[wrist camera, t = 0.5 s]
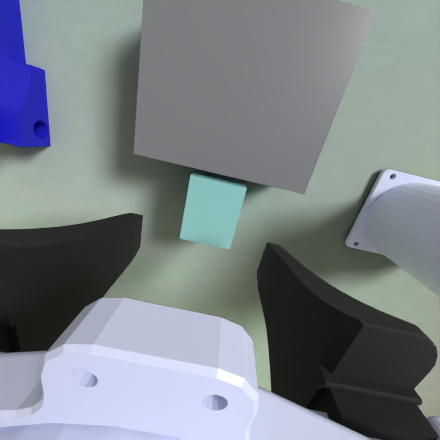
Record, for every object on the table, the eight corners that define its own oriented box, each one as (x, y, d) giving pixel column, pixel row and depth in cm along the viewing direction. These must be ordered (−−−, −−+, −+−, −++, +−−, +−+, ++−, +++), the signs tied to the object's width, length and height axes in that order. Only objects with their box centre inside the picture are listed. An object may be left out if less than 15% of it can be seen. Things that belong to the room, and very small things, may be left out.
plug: (269, 74, 16) (286, 46, 11) (229, 223, 21) (229, 249, 16) (219, 61, 16) (215, 27, 11) (191, 214, 21) (179, 238, 16)
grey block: (329, 51, 16) (375, 11, 11) (284, 179, 19) (304, 194, 14) (173, 9, 15) (147, -54, 10) (158, 149, 19) (133, 153, 14)
